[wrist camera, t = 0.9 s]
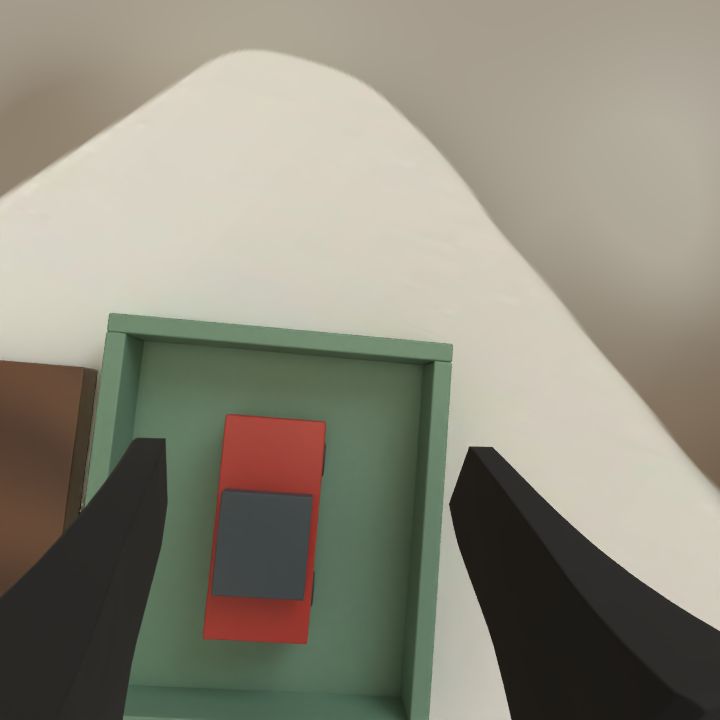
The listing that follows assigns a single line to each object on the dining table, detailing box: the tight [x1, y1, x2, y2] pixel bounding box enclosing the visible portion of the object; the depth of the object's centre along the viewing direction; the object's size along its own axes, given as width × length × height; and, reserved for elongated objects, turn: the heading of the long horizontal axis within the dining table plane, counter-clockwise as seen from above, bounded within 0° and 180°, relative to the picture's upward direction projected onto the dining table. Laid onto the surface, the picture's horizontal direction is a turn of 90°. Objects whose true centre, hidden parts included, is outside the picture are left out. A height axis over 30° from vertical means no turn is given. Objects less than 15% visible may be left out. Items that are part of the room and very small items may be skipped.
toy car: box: [203, 414, 326, 644], centre depth 24 cm, size 9×4×3 cm, turn 175°
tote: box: [84, 313, 453, 720], centre depth 24 cm, size 17×15×3 cm
